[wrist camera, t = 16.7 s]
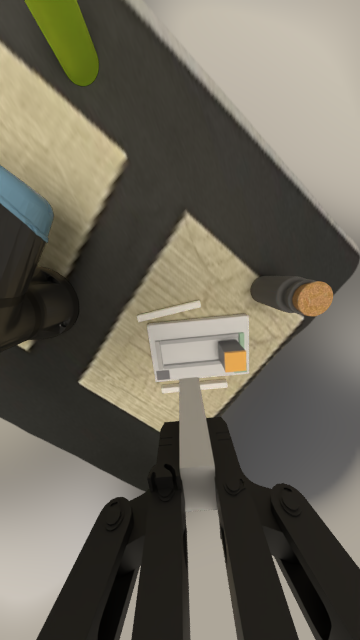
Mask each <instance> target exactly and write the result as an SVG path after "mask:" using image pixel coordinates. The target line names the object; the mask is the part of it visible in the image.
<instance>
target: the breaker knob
mask: <svg viewBox="0 0 360 640" xmlns="http://www.w3.org/2000/svg"><path fill="white" fill-rule="evenodd" d="M218 353H219V360H220V362H221V364H222V366H223V368H224V370H225V372H237V371H246V351H245V349H244V348H243V347H242V346H241V345H240V344H239V342H238V341H237V340H227V341H218Z"/></svg>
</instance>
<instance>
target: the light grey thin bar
mask: <svg viewBox="0 0 360 640" xmlns="http://www.w3.org/2000/svg"><path fill="white" fill-rule="evenodd" d="M199 307H201V304H200V300H196V301H192V302H188V303H184V304H180V305H176V306H172V307H168V308H163V309H159V310H155V311H151V312H147V313H143V314H139V315H137V319H138V322H142V321H146V320H150V319H154V318H158V317H162V316H166V315H170V314H175V313H179V312H183V311H187V310H191V309H195V308H199Z"/></svg>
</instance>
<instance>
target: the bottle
mask: <svg viewBox="0 0 360 640" xmlns="http://www.w3.org/2000/svg"><path fill="white" fill-rule="evenodd" d="M251 295H252V297H253V298H254V300H256V301H257V302H260V303H262V304H265V305H268V306H270V307H273V308H276V309H278V310H281V311H284V312H288V313H297V314H304V315H307V316H317V315H320V314H322V313H323V312H324V311H326V310H327V309H328V308H329V306H330V305H331V303H332V299H333V292H332V289H331V287H330V286H329V285H328V284H326V283H324V282H317V281H315V280H310V279H305V278H302V277H297V276H261V277H259V278H257V279H256V280H255V281H254V282H253V284H252V286H251Z"/></svg>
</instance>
